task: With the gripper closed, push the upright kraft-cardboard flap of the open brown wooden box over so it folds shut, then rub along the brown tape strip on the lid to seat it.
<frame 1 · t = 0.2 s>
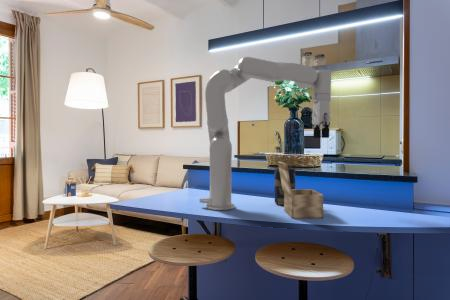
hand: (321, 137, 143), 31 cm above the table, fingers open, 9 cm apart
lid: (284, 177, 130), point 15 cm above the table, hinge at 100.0°
canister: (284, 204, 151), on the table
brown wooden box: (302, 214, 131), on the table
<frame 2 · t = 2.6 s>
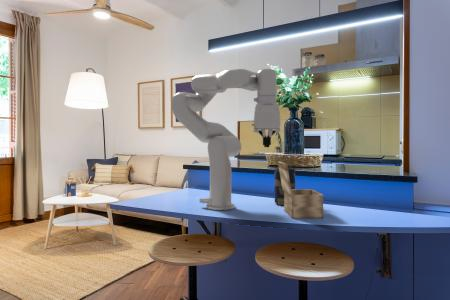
hand: (266, 147, 130), 27 cm above the table, fingers closed
nothing on the table moved.
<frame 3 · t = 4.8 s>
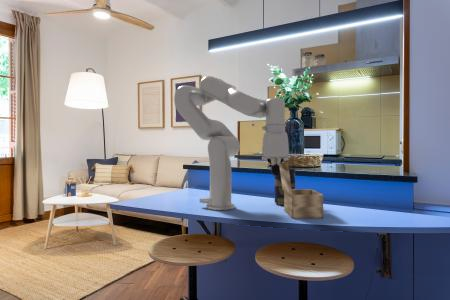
hand: (275, 174, 130), 16 cm above the table, fingers closed
lid: (285, 177, 130), point 15 cm above the table, hinge at 97.8°, touching gripper
everything else where it was.
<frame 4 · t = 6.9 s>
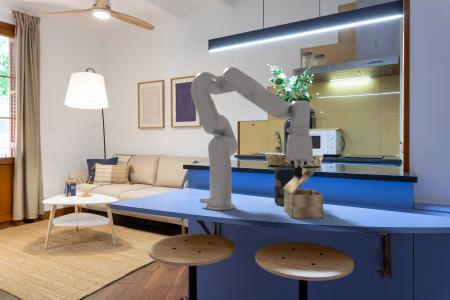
hand: (297, 177, 131), 15 cm above the table, fingers closed
lid: (297, 180, 131), point 14 cm above the table, hinge at 44.9°, touching gripper
everything else where it was.
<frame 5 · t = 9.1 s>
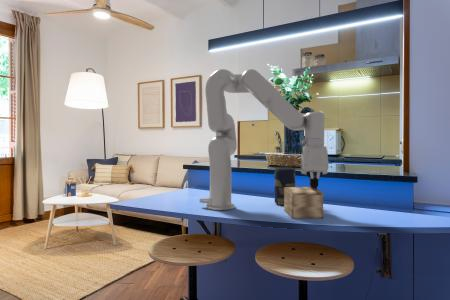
hand: (313, 188, 131), 11 cm above the table, fingers closed
lid: (302, 190, 131), point 10 cm above the table, hinge at 0.7°
everything else where it was.
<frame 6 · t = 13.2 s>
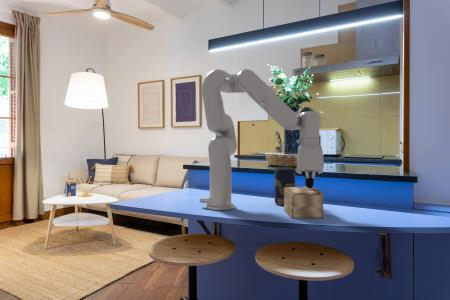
hand: (309, 187, 131), 11 cm above the table, fingers closed
nothing on the table moved.
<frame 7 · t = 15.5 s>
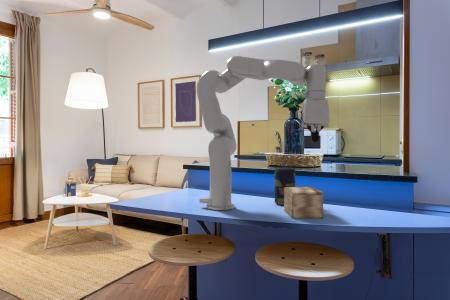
hand: (314, 141, 131), 29 cm above the table, fingers closed
nothing on the table moved.
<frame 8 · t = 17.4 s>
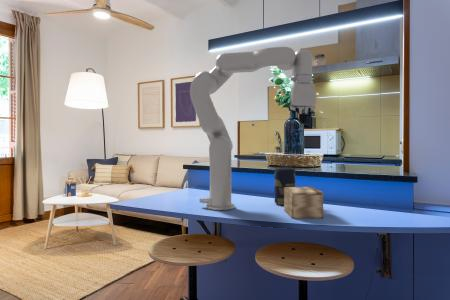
hand: (302, 123, 139), 37 cm above the table, fingers closed
nothing on the table moved.
at the end: lid at +1° (first picture: +100°); lid touching nothing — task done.
